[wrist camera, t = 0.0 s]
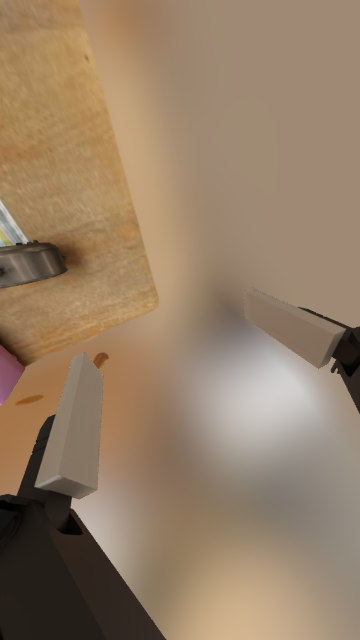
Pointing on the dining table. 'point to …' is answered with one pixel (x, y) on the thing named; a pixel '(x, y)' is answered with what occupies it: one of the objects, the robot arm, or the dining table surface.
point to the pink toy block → (8, 373)
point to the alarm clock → (29, 263)
